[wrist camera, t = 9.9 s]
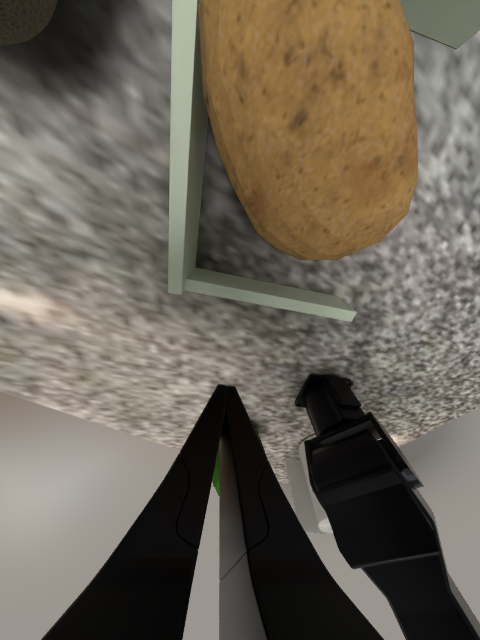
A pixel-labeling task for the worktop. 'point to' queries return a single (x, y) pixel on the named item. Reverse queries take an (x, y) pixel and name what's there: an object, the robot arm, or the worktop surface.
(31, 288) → the worktop surface
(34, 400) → the worktop surface
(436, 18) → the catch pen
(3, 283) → the worktop surface
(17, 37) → the cantaloupe
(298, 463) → the toilet tissue
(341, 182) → the potato
